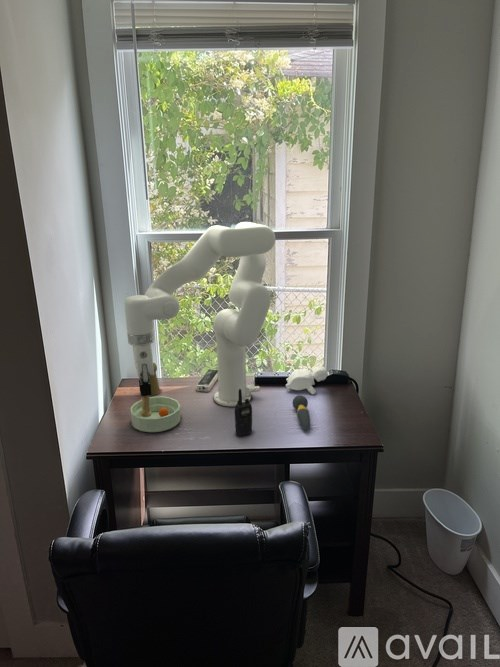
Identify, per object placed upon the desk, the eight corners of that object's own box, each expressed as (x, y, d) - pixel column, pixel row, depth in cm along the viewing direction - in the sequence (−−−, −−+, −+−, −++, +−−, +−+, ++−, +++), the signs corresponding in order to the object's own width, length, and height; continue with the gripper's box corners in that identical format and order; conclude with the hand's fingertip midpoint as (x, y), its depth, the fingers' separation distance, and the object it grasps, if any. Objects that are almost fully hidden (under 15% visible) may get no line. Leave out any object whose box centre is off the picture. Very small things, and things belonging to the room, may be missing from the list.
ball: (170, 413, 165) (170, 410, 162) (164, 420, 163) (163, 417, 161) (163, 407, 165) (162, 404, 162) (156, 414, 164) (156, 411, 161)
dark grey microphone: (318, 432, 154) (319, 417, 153) (302, 433, 154) (303, 418, 152) (304, 402, 173) (304, 389, 171) (289, 403, 172) (289, 390, 171)
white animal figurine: (291, 401, 180) (332, 388, 177) (282, 380, 178) (323, 367, 175) (292, 390, 188) (331, 378, 185) (283, 370, 186) (323, 357, 183)
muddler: (150, 411, 162) (148, 374, 158) (152, 416, 160) (150, 378, 155) (140, 413, 161) (138, 375, 157) (141, 417, 159) (139, 379, 154)
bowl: (176, 407, 171) (175, 393, 169) (184, 429, 157) (183, 414, 155) (130, 414, 167) (128, 400, 165) (134, 437, 153) (132, 422, 151)
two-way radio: (238, 438, 152) (237, 392, 147) (231, 431, 155) (230, 386, 150) (254, 433, 154) (254, 388, 149) (247, 427, 158) (246, 382, 153)
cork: (154, 386, 186) (151, 358, 182) (163, 392, 182) (161, 363, 178) (139, 392, 182) (136, 363, 179) (148, 397, 178) (146, 368, 174)
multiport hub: (219, 375, 195) (219, 370, 194) (208, 392, 181) (208, 386, 181) (208, 374, 196) (208, 369, 195) (196, 390, 182) (196, 385, 182)
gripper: (156, 344, 146) (161, 402, 152) (150, 327, 160) (154, 381, 166) (129, 347, 144) (135, 406, 150) (125, 330, 158) (131, 384, 164)
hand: (145, 392), depth 158 cm, fingers closed on muddler, 2 cm apart
